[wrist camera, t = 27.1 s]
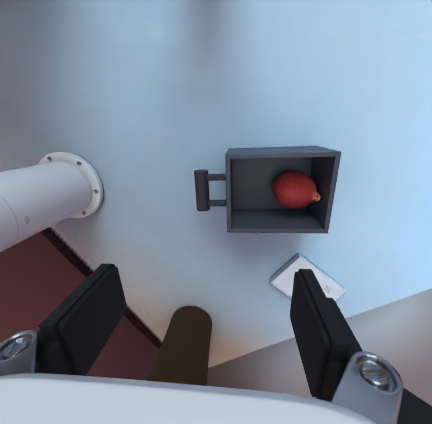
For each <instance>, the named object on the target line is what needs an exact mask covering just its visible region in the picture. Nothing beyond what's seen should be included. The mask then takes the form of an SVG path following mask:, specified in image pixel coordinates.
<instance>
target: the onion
mask: <svg viewBox="0 0 432 424" xmlns="http://www.w3.org/2000/svg"><path fill="white" fill-rule="evenodd" d="M272 189H273V192H274V195H275V199H276V200H277V202H278V203H279V204H281V205H282V206H284V207H287V208H290V209H297V208H301V207H305V206H307V205H309V204H310V203H312V202H313V201H319V200H320V198H321V196H320V195H319V194H318V193H317V189H316V185H315V183H314V181H313V180H312V179H311V177H309V176H308V175H307V174H306V173H304V172H301V171H298V170H292V171H287V172H285V173H283V174H282V175H280V176H279V177H278V178H277V179H275V180H274V181H273V182H272Z"/></svg>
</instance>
